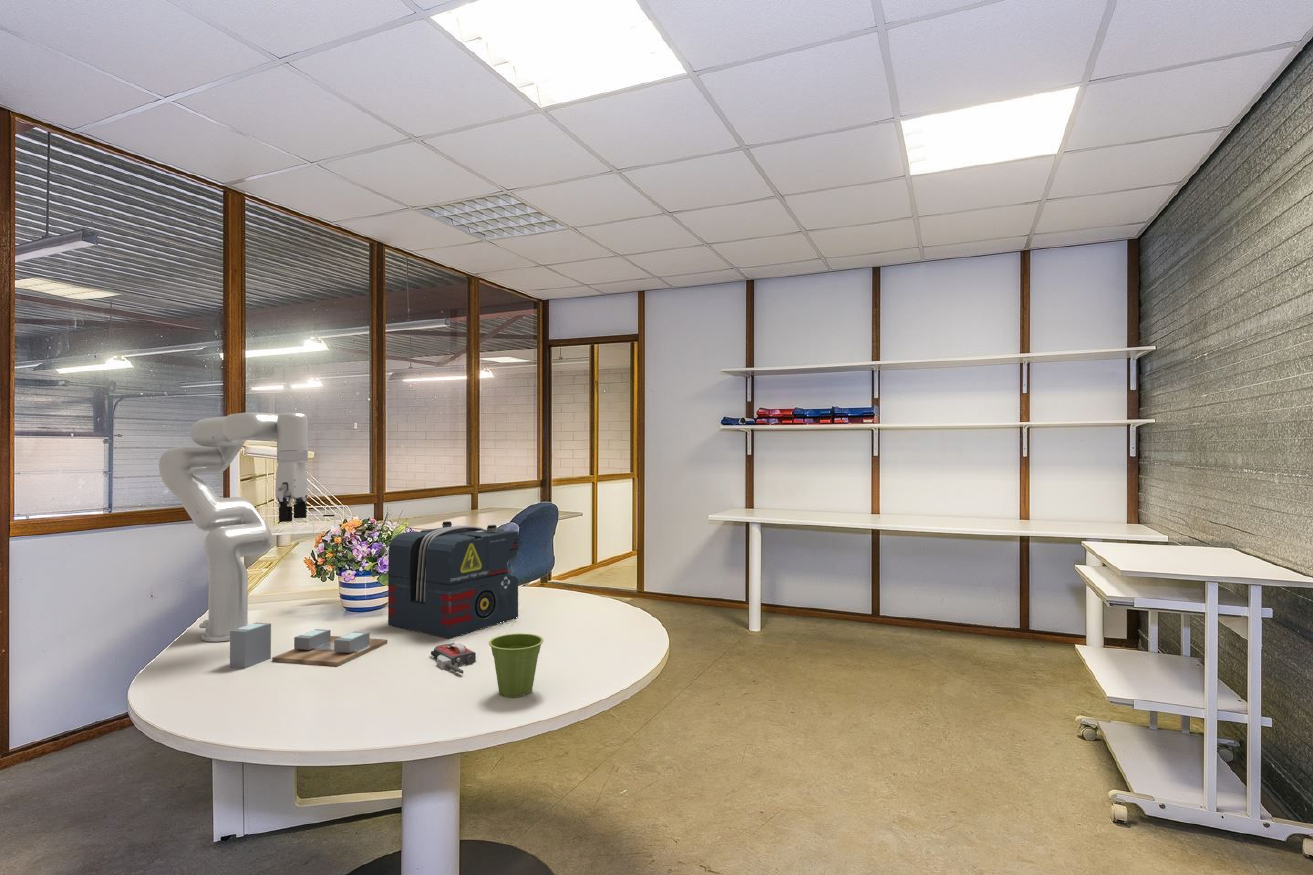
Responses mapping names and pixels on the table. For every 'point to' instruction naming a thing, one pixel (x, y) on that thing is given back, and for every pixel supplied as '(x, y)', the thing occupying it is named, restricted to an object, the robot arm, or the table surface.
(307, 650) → the board
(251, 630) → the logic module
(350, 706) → the table surface
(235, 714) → the table surface
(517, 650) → the plant pot
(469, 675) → the table surface
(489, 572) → the power unit
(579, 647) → the table surface
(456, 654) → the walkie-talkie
